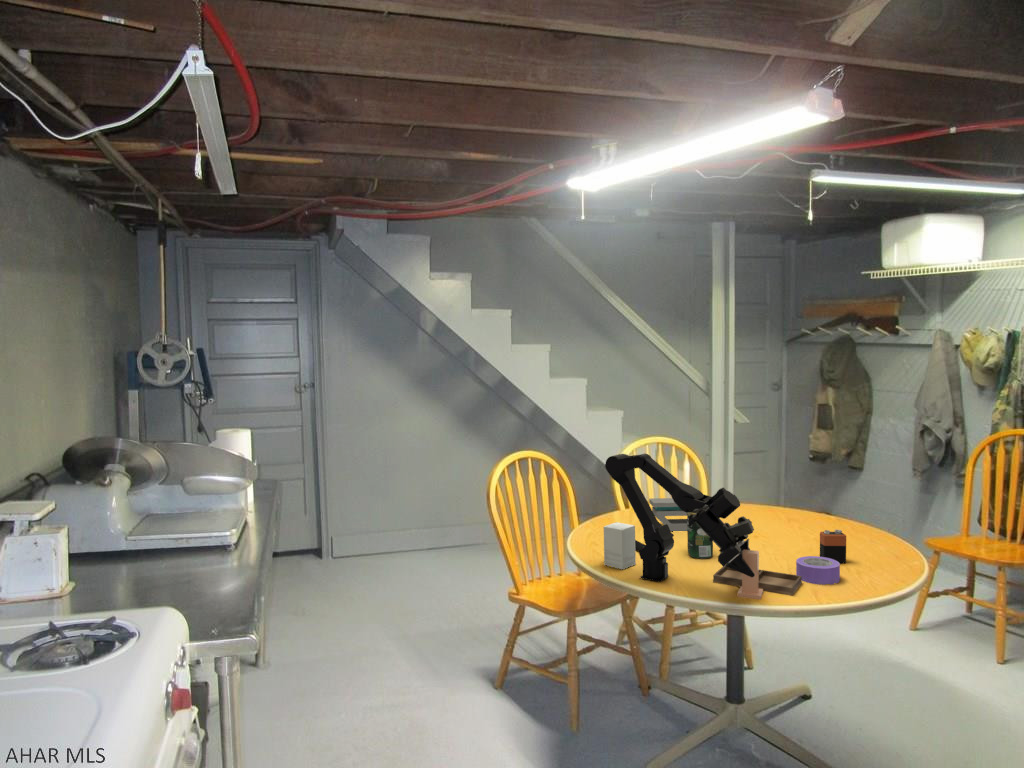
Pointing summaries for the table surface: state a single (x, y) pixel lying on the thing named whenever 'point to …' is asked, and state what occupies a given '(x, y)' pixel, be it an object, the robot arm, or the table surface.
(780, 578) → the divided tray
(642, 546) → the electric trimmer
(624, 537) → the supplement box
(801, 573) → the tape roll
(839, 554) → the battery
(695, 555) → the coffee jar
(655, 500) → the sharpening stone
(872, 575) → the table surface
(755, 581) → the pink post on base
